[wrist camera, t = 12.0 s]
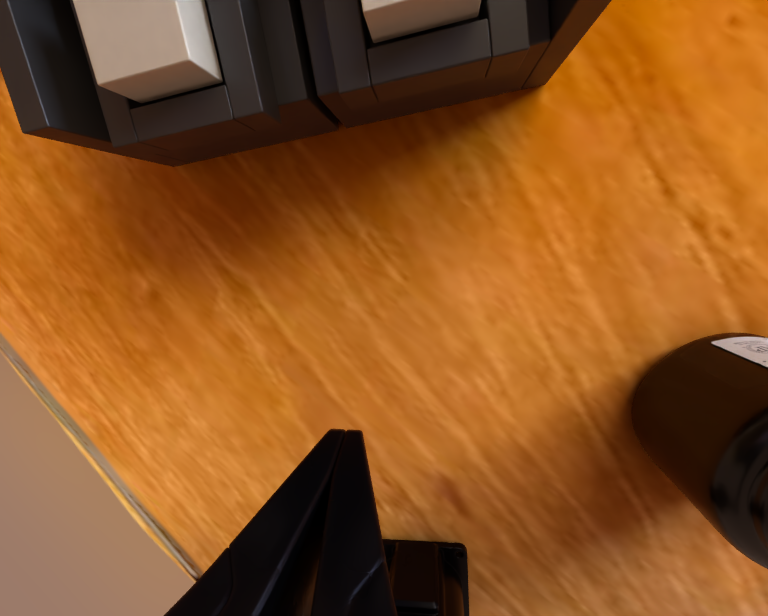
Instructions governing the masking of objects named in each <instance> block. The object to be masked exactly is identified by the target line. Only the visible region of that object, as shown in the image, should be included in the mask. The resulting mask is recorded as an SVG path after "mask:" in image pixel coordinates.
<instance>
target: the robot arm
mask: <svg viewBox="0 0 768 616" xmlns="http://www.w3.org/2000/svg"><path fill="white" fill-rule="evenodd" d="M458 551H460V552H458ZM164 616H469V596H468V565H467V549H466V547H465V545H463V544H461V543H448V542H428V541H409V540H390V539H382V536H381V530H380V525H379V519H378V514H377V509H376V503H375V498H374V492H373V487H372V481H371V476H370V471H369V465H368V460H367V454H366V449H365V443H364V438H363V433H362V431H361V430H347V431H345V430H344V429H330V430H329V431H328V432H327V433H326V434H325V435H324V436H323V438H322V439H321V440H320V441H319V442H318V443H317V444H316V446H315V447H314V448H313V449H312V450H311V451H310V453H309V454H308V455H307V456H306V457H305V458H304V459H303V461H302V462H301V463H300V464H299V465H298V466H297V468H296V469H295V470H294V471H293V472H292V473H291V474H290V476H289V477H288V478H287V479H286V480H285V481H284V483H283V484H282V485H281V486H280V487H279V488H278V489H277V491H276V492H275V493H274V494H273V495H272V496H271V498H270V499H269V500H268V501H267V502H266V503H265V504H264V506H263V507H262V508H261V509H260V510H259V511H258V513H257V514H256V515H255V516H254V517H253V518H252V519H251V521H250V522H249V523H248V524H247V525H246V526H245V528H244V529H243V530H242V531H241V532H240V533H239V534H238V536H237V537H236V538H235V539H234V540H233V541H232V542H231V544H230V545H229V548H226V549H225V550H224V551H223V553H222V554H221V555H220V556H219V557H218V558H217V560H216V561H215V562H214V563H213V564H212V565H211V566H210V567H209V569H208V570H207V571H206V572H205V573H204V574H203V575H202V576H201V577H200V579H199V580H198V581H197V582H196V583H195V584H194V585H193V586H192V587H191V588H190V589H189V590H188V591H187V592H186V594H185V595H184V596H183V597H182V598H181V599H180V600H179V601H178V602H177V603H176V604H175V605H174V606H173V607H172V608H171V609H170V610H169V611H168V612H167V613H166V614H165V615H164Z"/></svg>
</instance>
